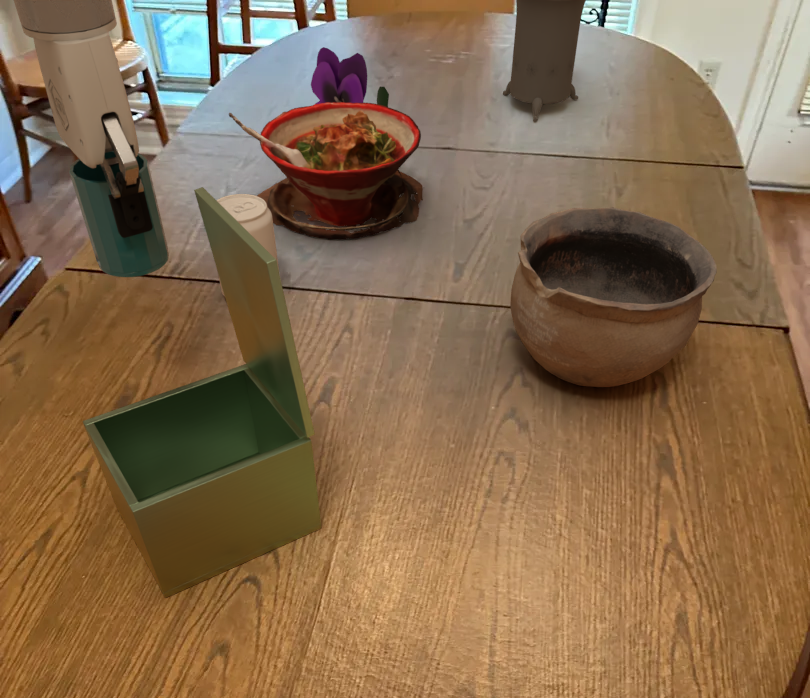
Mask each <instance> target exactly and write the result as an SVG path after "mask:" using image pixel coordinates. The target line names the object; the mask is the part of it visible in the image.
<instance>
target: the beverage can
mask: <svg viewBox="0 0 810 698" xmlns="http://www.w3.org/2000/svg"><path fill="white" fill-rule="evenodd" d="M215 200H216V201H217V202H218V203H219V204H220V205H221V206H222V207H223V208H225V209H226V210H227V211H228V212H229V213H230V214H231V215H232V216H233V217H234V218H235V219H236V220H237V221H238V222H239V223H240V224H241V225H242V226H243V227H244V228H245V229H246V230H247V231H248V232H249V233H250V234H251V235H252V236H253V237H254V238H255V239H256V240H257V241H258V242H259V243H260V244H261V245H262V246H263V247H264V248H265V249H266V250H267V251H268V252H269V253H270V254H271V255H272V256H273V257H274V258H275V259H276V261H277V265H278V270H279V271H280V268H279V259H278V258H279V257H278V250H277V243H276V236H275V235H276V234H275V227H274V223H273V219H272V214H271V211H270V210H269V208H268V207H267V204H266V202H265V201H264V200H263V199H262V198H260V197H258V196H257V195H254V194H248V193H236V194H230V195H226V196H222V197H220V198H218V199H215ZM217 275H218V280H219V285H220V291H221V294H222V296H223V297H224V298H225V295H224V292H223V288H222V285H221V281H220V278H219V274H218V273H217Z"/></svg>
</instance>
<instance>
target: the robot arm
mask: <svg viewBox="0 0 810 698" xmlns="http://www.w3.org/2000/svg"><path fill="white" fill-rule="evenodd" d="M13 3H14V6H15V10H16V12H17V16H18V19H19V22H20V25H21V29H22V32H23V34H25V35H26V36H27V37H29V38H32V40H33V43H34V44H33V45H34V48H35V53H36V56H37V57H36V58H37V61H38V64H39V68H40V73H41V76H42V80H43V83H44V88H45V91H46V94H47V99H48V103H49V106H50V110H51V114H52V117H53V122H54V124H55V128H56V131H57V134H58V136H59V137H60V139H61V140H62V141H63V142H64V144H65V145H66V146H67V147H68V148H69V150H71V152H72V153H73V154H74V155H75V156H76V157H77V159H80V160H81V161H82V162H83V163H84V164H85V165H87V166H88V167H90V168H96V165H98V164H100V165H101V167H102V170H103V172H104V175H105V178H106V180H107V183H108V185H109V188H110V191H111V193H112V194H111V195H108V196H109V200H110V204H111V207H112V211H113V214H114V218H115V222H116V225H117V229H118V232H119V234H120V235H121V237H123V238H126V237H130V236H133V235H137V234H141V233H144V232H148V231H151V230H152V228H153V226H152V222H151V218H150V213H149V209H148V205H147V201H146V197H145V193H144V188H143V184H142V181H141V176H139V174H140V173H139V166H138V163H137V160H136V157H137V155H138V154H140V147H139V140H138V136H137V135H138V134H137V131H136V130H137V129H136V126H135V122H134V118H133V114H132V110H131V107H130V102H129V98H128V94H127V91H126V87H125V83H124V80H123V79H124V78H123V76H122V73H121V69H120V66H119V61H118V58H117V55H116V52H115V49H114V45H113V43H112V42H113V41H112V39H111V36H110V33H109V32H111V31H112V30H114V29H115V28H116V27H117V24H118V22H117V18H116V13H115V8H114V5H113V0H13ZM110 151H114V153H115V155H116V157H112V158H108V159H105V156H104V155H105V153H106V152H110ZM117 165H119V169H120V171H121V172H118V173H117V175H116V180H115V178H114V175H113V172H112V170H111V167H113V166H117Z"/></svg>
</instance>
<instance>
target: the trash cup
mask: <svg viewBox="0 0 810 698" xmlns="http://www.w3.org/2000/svg"><path fill="white" fill-rule="evenodd" d="M104 156H105V159H108V158H112V157H116V155H115V153H114V151H110V152H106V153H105V155H104ZM136 160H137V163H138V166H139V173H140V174H139V176H141V181H142V184H143V188H144V193H145V197H146V201H147V205H148V209H149V213H150V218H151V222H152V226H153V228H152V230H151V231H148V232H144V233H141V234H137V235H133V236H130V237H126V238H123V237H121V235H120V234H119V232H118V229H117V225H116V222H115V218H114V214H113V211H112V207H111V204H110V200H109V196H108V195H111V194H112V193H111V191H110V188H109V185H108V183H107V180H106V178H105V175H104V172H103V170H102V167H101V165H100V164H98V165H96V168H90V167H88V166H87V165H85V164H84V163H83V162H82V161H81V160H80V159H79V158H77V159H76V160H75V161H73V162H72V164H70V165H69V171H68V172H69V177H70V179H71V183H72V186H73V189H74V192H75V196H76V199H77V202H78V205H79V208H80V212H81V215H82V218H83V222H84V225H85V228H86V232H87V235H88V238H89V241H90V244H91V248H92V251H93V255H94V258H95V261H96V263H97V265H98V267H99V269H100V270H101V271H102V272H103V273H105V274H107V275H109V276H111V277H112V276H113V277H116V278H117V277H118V278H136V277H137V278H138V277H142V276H146V275H149V274H152V273H155V272H156V271H158V270H160V269H162V268H163V267H164V266H165V265H166V264H167V262H168V261H169V258H170V254H169V253H170V252H169V246H168V242H167V238H166V234H165V233H166V232H165V230H164V225H163V221H162V216H161V213H160V209H159V204H158V200H157V195H156V191H155V187H154V182H153V178H152V174H151V170H150V165H149V161H148V159H147V158H146V157H145V156H144V155H142V154H141V153H138V155H137V157H136ZM111 170H112V172H113V175H114V178H115V180H116V175H117V173H118V172H121V171H120V169H119V165H117V166H113V167H111Z"/></svg>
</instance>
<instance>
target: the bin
mask: <svg viewBox="0 0 810 698" xmlns="http://www.w3.org/2000/svg"><path fill="white" fill-rule="evenodd" d="M82 423H83V427H84V429H85V432H86V434H87V437H88V439H89V442H90V444H91V446H92V450H93V452H94V454H95V458H96V459H97V461H98V464H99V466H100V470H101V472H102V475H103V477H104V480H105V482H106V484H107V487H108V489H109V492H110V494H111V497H112V499H113V503H114V504H115V507H116V509H117V511H118V514H119V515H120V517H121V519H122V521H123V522H124V525H125V526H126V528H127V530H128V532H129V534H130V536H131V538H132V540H133V541H134V543H135V545H136V547H137V549H138V551H139V553H140V554H141V556H142V558H143V560H144V562H145V564H146V566H147V567H148V569H149V571H150V573H151V575H152V576H153V579H154V580H155V582H156V584H157V586H158V589H160V591H161V593H162V595H163V597H164V598H165V599H167V598H169V597H171V596H174V595H176V594H178V593H180V592H182V591H185V590H187V589H189V588H191V587H193V586H195V585H198V584H200V583H203V582H205V581H208V580H209V579H212V578H214V577H216V576H218V575H220V574H222V573H225V572H227V571H230V570H231V569H234V568H237V567H238V566H240V565H242V564H245V563H247V562H249V561H252V560H254V559H256V558H258V557H260V556H262V555H265V554H268V553H270V552H271V551H274V550H277V549H278V548H281V547H283V546H286V545H287V544H289V543H292V542H294V541H296V540H299V539H301V538H303V537H305V536H307V535H310V534H311V533H314V532H317V531H319V530H321V529H322V519H321V511H320V502H319V494H318V485H317V477H316V470H315V469H316V468H315V460H314V449H313V442H312V439H311V438H310V437H308V438H307V437H306V436H305V435H304V433H303V432H302V431H301V430H300V428H299V427H298V426H297V425H296V424H295V422H294V421H293V420H292V419H291V418H290V416H289V415H288V414H287V413H286V411H285V410H284V409H283V408H282V407H281V405H280V404H279V403H278V402H277V401H276V399H275V398H274V397H273V396H272V395H271V393H270V392H269V391H268V390H267V388H266V387H265V386H264V385H263V384H262V382H261V381H260V380H259V379H258V378H257V376H256V375H255V374H254V373H253V371H252V370H251V369H250V368H249V367H248V365H247V364H246V363H244V364H241V365H239V366H236V367H232V368H230V369H227V370H224V371H221V372H218V373H216V374H213V375H210V376H207V377H204V378H202V379H199V380H195V381H193V382H190V383H187V384H184V385H182V386H178V387H175V388H173V389H170V390H167V391H164V392H162V393H159V394H156V395H152V396H149V397H147V398H144V399H141V400H138V401H136V402H133V403H130V404H127V405H124V406H121V407H118V408H116V409H113V410H110V411H106V412H104V413H102V414H99V415H96V416H94V417H93V416H92V417H90V418H87V419H84V420H82Z"/></svg>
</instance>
